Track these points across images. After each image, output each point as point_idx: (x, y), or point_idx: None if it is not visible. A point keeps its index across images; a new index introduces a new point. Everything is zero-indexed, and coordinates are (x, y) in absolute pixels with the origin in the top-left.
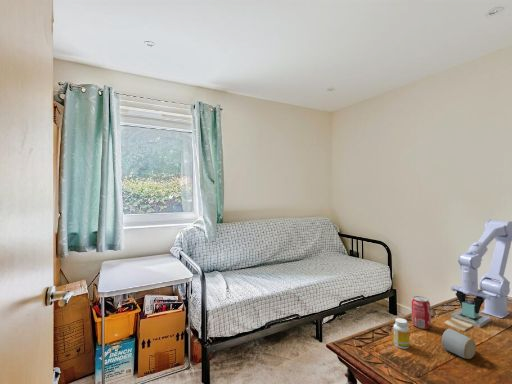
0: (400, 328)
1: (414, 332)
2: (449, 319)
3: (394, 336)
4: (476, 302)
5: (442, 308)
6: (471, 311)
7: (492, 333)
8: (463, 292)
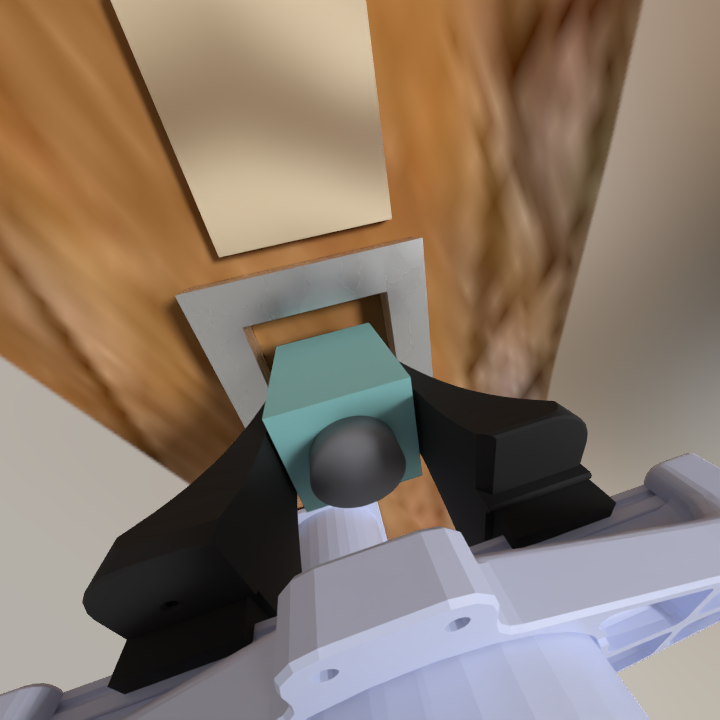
0: None
1: None
2: (380, 148)
3: None
4: (211, 488)
5: (519, 332)
6: (295, 368)
7: (56, 283)
8: (470, 554)
